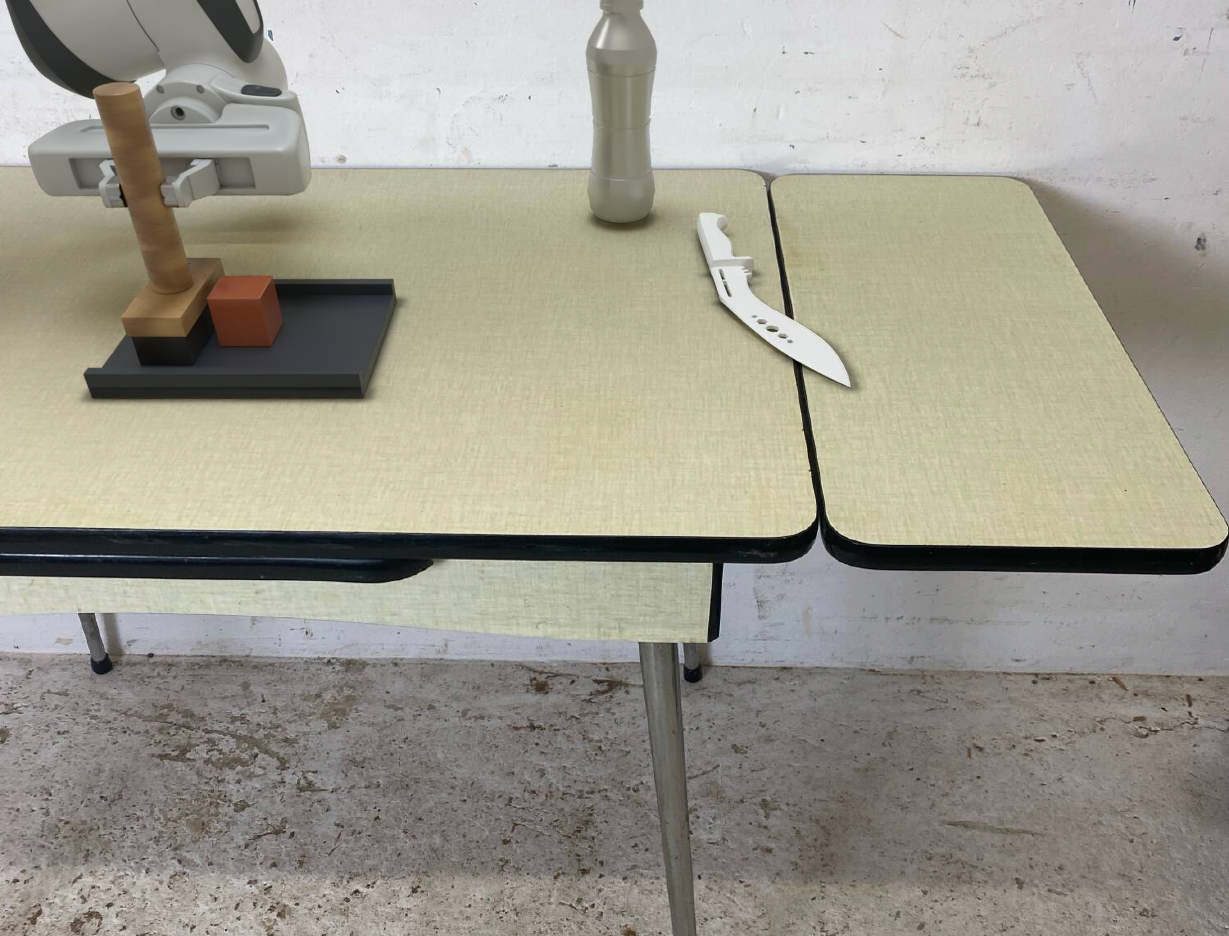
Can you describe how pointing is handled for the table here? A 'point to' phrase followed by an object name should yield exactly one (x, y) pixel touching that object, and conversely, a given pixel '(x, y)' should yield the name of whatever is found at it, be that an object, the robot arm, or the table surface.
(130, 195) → the brush
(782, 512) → the table surface
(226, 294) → the block
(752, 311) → the knife
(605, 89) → the plastic bottle
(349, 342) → the tray
